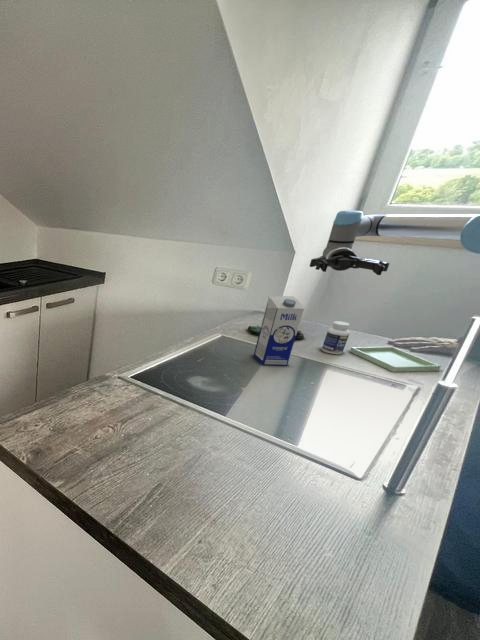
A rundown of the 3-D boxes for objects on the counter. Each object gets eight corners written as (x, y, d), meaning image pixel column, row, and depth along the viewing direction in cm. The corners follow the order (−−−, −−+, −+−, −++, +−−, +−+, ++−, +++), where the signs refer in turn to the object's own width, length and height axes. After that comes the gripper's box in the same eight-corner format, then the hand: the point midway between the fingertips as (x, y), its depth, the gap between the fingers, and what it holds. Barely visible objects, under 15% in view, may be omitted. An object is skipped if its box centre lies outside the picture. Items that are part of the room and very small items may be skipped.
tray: (439, 370, 112) (441, 366, 111) (392, 371, 112) (394, 367, 111) (390, 350, 126) (392, 346, 125) (349, 351, 126) (351, 347, 125)
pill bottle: (336, 355, 123) (346, 326, 119) (317, 350, 128) (327, 321, 124) (346, 352, 125) (356, 324, 121) (327, 347, 130) (337, 319, 126)
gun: (254, 334, 139) (247, 325, 147) (253, 337, 139) (246, 328, 148) (307, 338, 134) (298, 328, 142) (306, 342, 134) (297, 332, 143)
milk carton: (276, 356, 124) (294, 295, 115) (287, 365, 117) (307, 301, 109) (252, 356, 125) (268, 295, 116) (262, 364, 119) (279, 301, 110)
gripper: (382, 271, 136) (400, 284, 119) (295, 266, 148) (301, 277, 131) (391, 249, 133) (410, 259, 116) (301, 246, 145) (307, 254, 128)
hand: (352, 269), depth 124 cm, fingers open, 13 cm apart
